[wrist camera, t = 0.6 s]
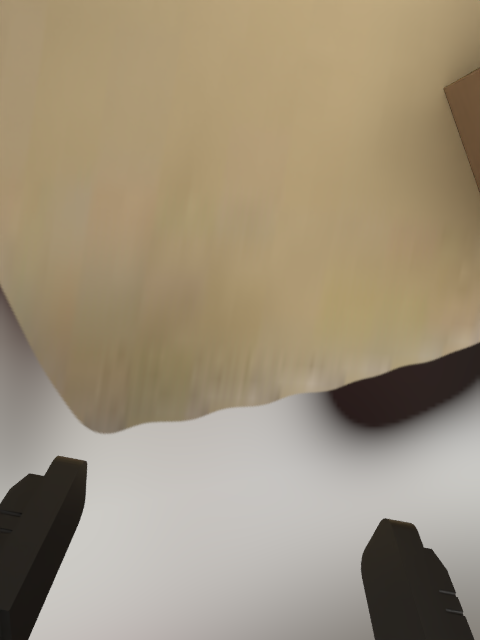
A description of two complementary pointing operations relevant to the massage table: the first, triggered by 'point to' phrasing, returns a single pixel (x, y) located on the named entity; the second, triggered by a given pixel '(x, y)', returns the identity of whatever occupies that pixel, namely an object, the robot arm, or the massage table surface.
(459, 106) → the plinth
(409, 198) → the massage table surface
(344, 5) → the massage table surface
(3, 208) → the massage table surface
